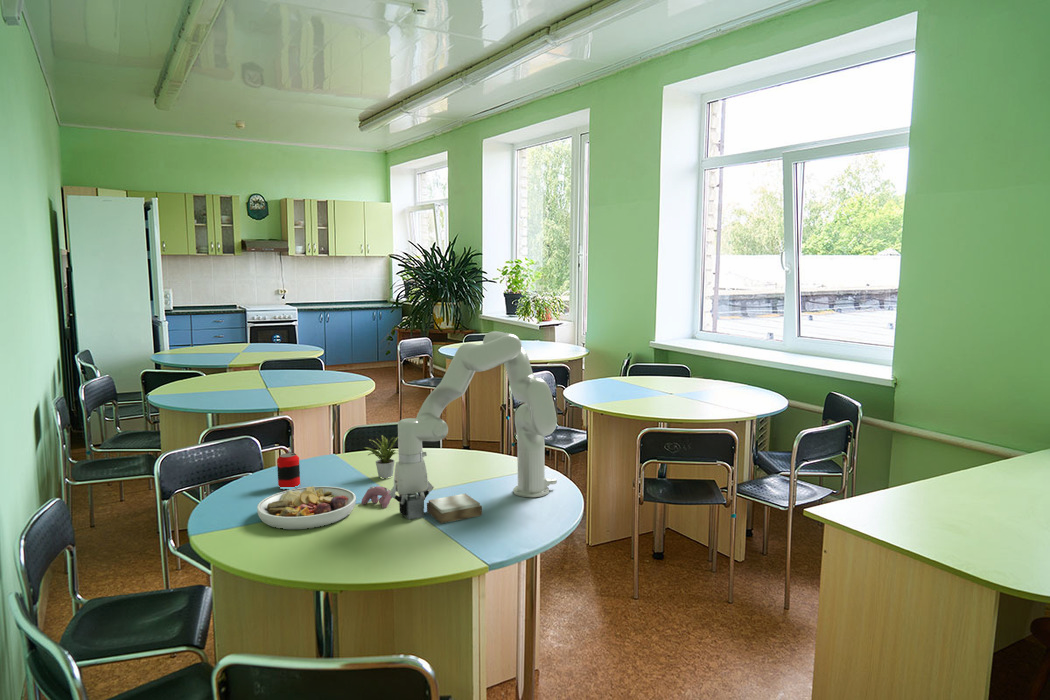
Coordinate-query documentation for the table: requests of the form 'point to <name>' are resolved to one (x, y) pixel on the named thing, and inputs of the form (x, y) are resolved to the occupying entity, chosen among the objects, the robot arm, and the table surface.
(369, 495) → the video game controller
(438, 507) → the stand
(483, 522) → the table surface
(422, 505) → the block
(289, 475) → the soda can
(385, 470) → the house plant
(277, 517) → the bowl
